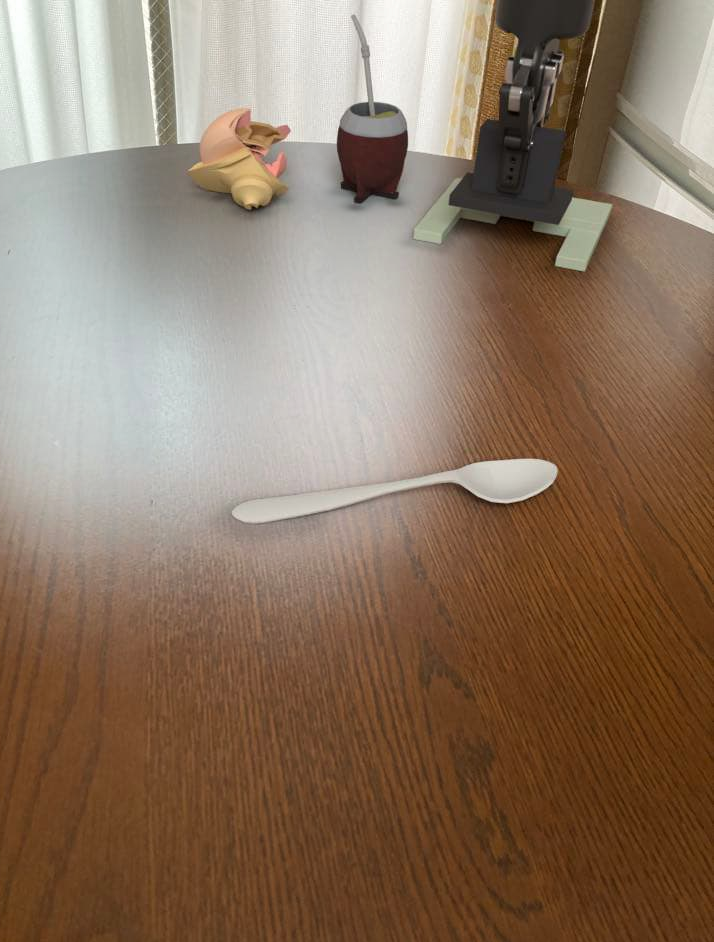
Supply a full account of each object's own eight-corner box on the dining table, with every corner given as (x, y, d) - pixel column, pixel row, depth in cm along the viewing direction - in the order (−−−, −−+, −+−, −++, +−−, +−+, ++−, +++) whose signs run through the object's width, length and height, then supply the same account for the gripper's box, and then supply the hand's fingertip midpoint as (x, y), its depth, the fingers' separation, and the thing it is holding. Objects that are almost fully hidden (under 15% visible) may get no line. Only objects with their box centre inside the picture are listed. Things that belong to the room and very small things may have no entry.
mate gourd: (388, 211, 91) (401, 43, 81) (315, 196, 93) (319, 31, 83) (414, 185, 96) (430, 24, 86) (345, 171, 98) (352, 13, 88)
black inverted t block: (575, 193, 86) (591, 120, 81) (558, 225, 80) (574, 149, 76) (471, 175, 88) (481, 103, 84) (448, 205, 83) (457, 130, 79)
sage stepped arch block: (610, 213, 91) (612, 203, 91) (584, 272, 82) (587, 261, 81) (454, 186, 96) (456, 177, 95) (412, 239, 86) (414, 228, 85)
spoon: (565, 506, 57) (570, 485, 56) (235, 538, 55) (234, 517, 54) (541, 466, 60) (546, 445, 59) (228, 494, 58) (227, 473, 57)
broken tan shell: (304, 219, 90) (245, 164, 83) (224, 249, 96) (162, 200, 88) (307, 139, 93) (249, 79, 85) (229, 173, 98) (168, 120, 90)
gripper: (584, -16, 65) (538, 222, 77) (615, -50, 75) (570, 166, 86) (481, -28, 67) (451, 206, 79) (524, -59, 77) (492, 153, 88)
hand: (514, 184), depth 83 cm, fingers closed on black inverted t block, 2 cm apart
